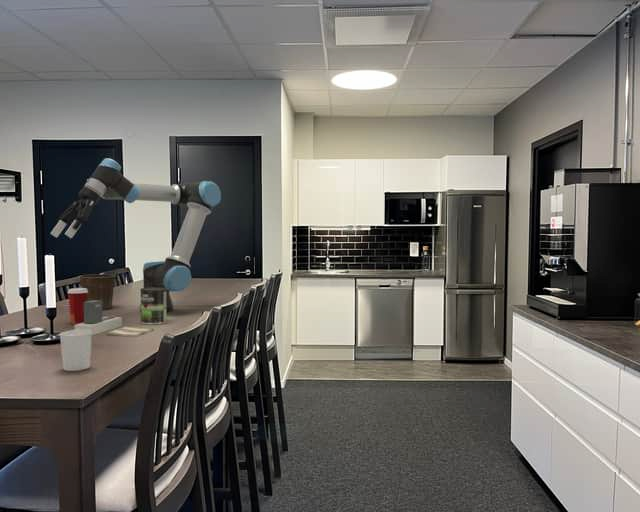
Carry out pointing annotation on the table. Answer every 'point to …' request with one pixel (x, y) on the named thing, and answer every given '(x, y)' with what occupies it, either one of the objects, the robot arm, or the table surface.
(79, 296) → the paper cup
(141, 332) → the birch pad
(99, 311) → the block
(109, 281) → the plant pot
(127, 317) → the table surface
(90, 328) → the power strip
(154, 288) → the coffee can
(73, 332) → the white cup
